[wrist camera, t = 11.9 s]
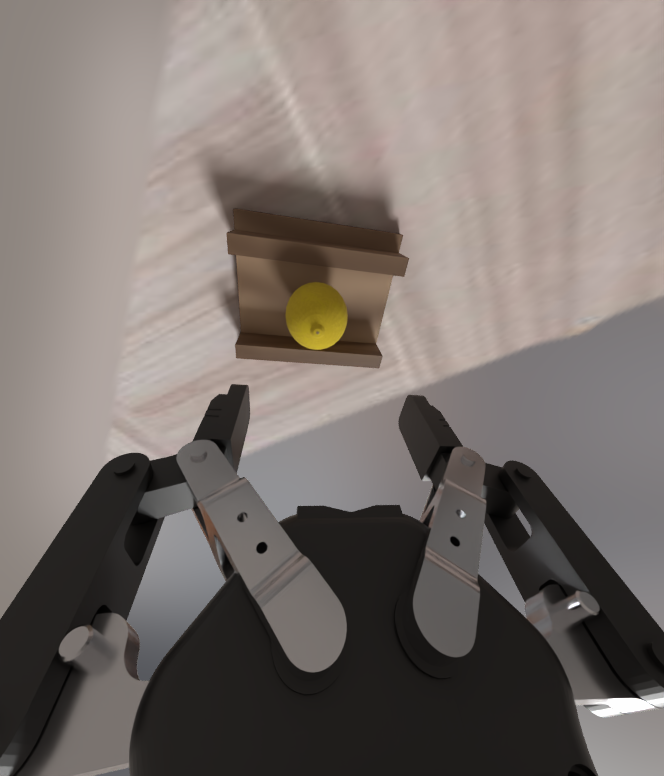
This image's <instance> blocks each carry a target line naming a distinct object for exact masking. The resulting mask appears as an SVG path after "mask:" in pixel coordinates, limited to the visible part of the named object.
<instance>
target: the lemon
mask: <svg viewBox="0 0 664 776" xmlns="http://www.w3.org/2000/svg"><path fill="white" fill-rule="evenodd" d="M285 316H286V323H287V327H288V329H289V331H290V334H291V335H292V336H293V338H294V339H295V340H296V341H297V342H298V343H299V344H301V345H302V346H304V347H306V348H309V349H314V350H321V349H325V348H328V347H330V346H332V345H334V344H335V343H336V342H337V341H338V340H339V339H340V338H341V336H342V335H343V333H344V331H345V328H346V325H347V318H348V314H347V307H346V304H345V302H344V300H343V298H342V296H341V295H340V294H339V292H338V291H337V290H335V289H334V288H333V287H332V286H330V285H327V284H325V283H320V282H312V283H307V284H305V285H302V286H301V287H299V288H298V289H297V290H296V291H295V292H294V293H293V294H292V296H291V297H290V298H289V301H288V304H287V306H286V315H285Z"/></svg>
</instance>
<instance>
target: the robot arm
mask: <svg viewBox="0 0 664 776" xmlns="http://www.w3.org/2000/svg"><path fill="white" fill-rule="evenodd" d="M249 419H250V402H249V387H248V385H236V384H232V385H231V386H230V389H229V392H228V394H227V395H225V394H219V395H218V396H216V397H215V398H214V399H213V400H212V401H211V402H210V404H209V407H208V410H207V411H206V413H205V417H204V418H203V420H202V422H201V424H200V426H199V428H198V431H197V433H196V435H195V437H194V439H193V441H192V442H190V443H188V444H186V445H185V446H183V447H182V448H181V449H180V450H179V452H178V454H176V455H173V456H170V457H166V458H161V459H156V460H152V461H149V458H148V457H147V456H146V455H144V454H141V453H129V454H124V455H121V456H118V457H116V458H114V459H112V460H111V461H109V462H108V463H107V464H106V465H105V466H104V467H103V468H102V469H101V470H100V472H99V473H98V475H97V476H96V478H95V479H94V481H93V482H92V484H91V485H90V487H89V488H88V490H87V491H86V493H85V494H84V496H83V497H82V499H81V500H80V502H79V503H78V505H77V506H76V508H75V509H74V511H73V512H72V514H71V515H70V517H69V518H68V520H67V521H66V523H65V524H64V525H63V527H62V529H61V530H60V531H59V533H58V534H57V536H56V537H55V539H54V540H53V542H52V543H51V545H50V546H49V548H48V549H47V551H46V552H45V554H44V555H43V557H42V558H41V560H40V562H39V563H38V564H37V566H36V567H35V569H34V570H33V572H32V573H31V575H30V576H29V578H28V579H27V581H26V582H25V584H24V585H23V587H22V588H21V590H20V591H19V593H18V594H17V595H16V597H15V599H14V600H13V601H12V603H11V605H10V606H9V607H8V609H7V610H6V612H5V613H4V615H3V616H2V618H1V619H0V776H94V775H99V774H102V773H107V772H111V771H116V770H119V769H124V768H128V767H129V770H130V776H598V774H597V772H596V769H595V767H594V764H593V762H592V759H591V756H590V754H589V751H588V749H587V745H586V742H585V739H584V736H583V733H582V729H581V726H580V722H579V719H578V714H577V709H576V705H583V706H585V707H586V708H587V709H588V710H589V711H591V712H592V713H594V714H596V715H598V716H600V717H613V716H619V715H625V714H631V713H637V712H643V711H649V710H655V709H662V708H664V632H663V630H662V629H661V628H660V627H659V625H658V624H657V623H656V622H655V621H654V619H653V618H652V617H651V616H650V614H649V613H648V612H647V610H646V609H645V608H644V607H643V606H642V604H641V603H640V602H639V600H638V599H637V598H636V597H635V596H634V594H633V593H632V592H631V591H630V589H629V588H628V587H627V585H626V584H625V583H624V582H623V580H622V579H621V578H620V577H619V576H618V574H617V573H616V572H615V571H614V569H613V568H612V567H611V566H610V564H609V563H608V562H607V561H606V559H605V558H604V557H603V556H602V554H601V553H600V552H599V551H598V549H597V548H596V547H595V546H594V544H593V543H592V542H591V541H590V539H589V538H588V537H587V536H586V534H585V533H584V532H583V531H582V529H581V528H580V527H579V526H578V524H577V523H576V522H575V521H574V519H573V518H572V517H571V516H570V514H569V513H568V512H567V511H566V510H565V508H564V507H563V506H562V504H561V503H560V502H559V501H558V500H557V498H556V497H555V496H554V495H553V493H552V492H551V491H550V489H549V488H548V487H547V486H546V485H545V483H544V482H543V481H542V480H541V478H540V477H539V476H538V475H537V473H536V472H535V471H533V470H532V469H531V468H530V467H528V466H527V465H525V464H523V463H520V462H517V461H508V462H506V463H505V464H504V466H503V467H498V466H494V465H491V464H487V463H485V462H484V460H483V458H482V457H481V456H480V455H479V454H478V453H476V452H475V451H473V450H471V449H469V448H466V447H463V445H462V444H461V443H460V441H459V439H458V438H457V436H456V435H455V434H454V432H453V430H452V429H451V427H449V424H448V423H447V421H445V418H444V417H443V415H442V414H441V412H440V411H438V410H437V409H436V408H435V407H433V406H430V404H429V403H428V401H427V400H426V398H425V397H424V396H418V395H408V396H407V398H406V401H405V403H404V406H403V409H402V411H401V414H400V417H399V429H400V431H401V433H402V435H403V438H404V440H405V443H406V445H407V447H408V450H409V452H410V454H411V457H412V459H413V461H414V464H415V466H416V468H417V471H418V473H419V475H420V478H421V480H422V481H432V483H433V486H432V487H431V489H430V492H429V495H428V498H427V501H426V503H425V506H424V509H423V512H422V515H421V517H420V520H419V521H418V520H417V519H415V518H413V517H411V516H408V515H405V514H402V511H401V508H400V505H375V506H372V507H368V508H365V509H361V510H358V511H355V512H347V511H343V510H339V509H335V508H331V507H326V506H298V507H297V514H296V515H293V516H290V517H288V518H285V519H283V520H282V521H280V522H278V521H277V520H276V519H275V517H274V516H273V515H272V513H271V512H270V510H269V509H268V507H267V506H266V505H265V503H264V502H263V500H262V499H261V498H260V496H259V495H258V494H257V492H256V491H255V489H254V488H253V487H252V485H251V484H250V482H249V481H248V480H247V479H246V478H245V477H243V478H239V476H238V475H237V470H238V465H239V461H240V457H241V453H242V449H243V445H244V441H245V437H246V433H247V428H248V424H249ZM188 509H192V511H193V513H194V515H195V517H196V519H197V521H198V523H199V525H200V527H201V529H202V531H203V533H204V535H205V537H206V539H207V541H208V543H209V545H210V548H211V550H212V553H213V555H214V558H215V560H216V562H217V565H218V567H219V569H220V571H221V573H222V575H223V577H224V579H225V581H226V582H225V584H224V585H223V586H222V587H221V589H220V590H219V591H218V592H217V593H216V595H215V596H214V597H213V599H212V600H211V601H210V602H209V603H208V604H207V606H206V607H205V608H204V609H203V610H202V612H201V613H200V614H199V615H198V617H197V618H196V619H195V620H194V621H193V623H192V624H191V625H190V626H189V627H188V629H187V630H186V631H185V632H184V633H183V635H182V636H181V637H180V638H179V640H178V641H177V642H176V643H175V644H174V646H173V647H172V648H171V649H170V650H169V652H168V653H167V654H166V656H165V657H164V658H163V660H162V661H161V662H160V664H159V665H158V667H157V669H156V670H155V672H154V673H153V675H152V677H151V679H150V681H140V679H139V677H138V674H137V660H138V655H139V650H140V640H139V636H138V634H137V632H136V631H135V630H134V629H133V628H132V627H131V626H130V624H129V623H128V622H127V621H126V620H127V617H128V615H129V612H130V610H131V607H132V604H133V601H134V599H135V596H136V593H137V591H138V588H139V585H140V583H141V580H142V577H143V574H144V572H145V569H146V566H147V563H148V561H149V558H150V555H151V553H152V550H153V547H154V545H155V542H156V539H157V537H158V534H159V531H160V529H161V526H162V523H163V520H164V517H165V516H168V515H171V514H174V513H178V512H181V511H185V510H188ZM519 509H520V510H521V512H522V513H523V515H524V516H525V518H526V519H527V521H528V522H529V524H530V526H531V530H532V535H531V537H530V536H529V534H528V533H527V531H526V529H525V528H524V526H523V525H522V523H521V522H520V520H519V518H518V517H517V515H516V514H515V513H516V512H517V511H518V510H519ZM484 523H485V525H486V527H487V529H488V531H489V533H490V535H491V537H492V538H493V541H494V543H495V544H496V547H497V549H498V551H499V552H500V555H501V556H502V558H503V560H504V562H505V564H506V566H507V568H508V570H509V572H510V574H511V576H512V578H513V580H514V582H515V584H516V586H517V588H518V590H519V592H520V593H521V595H522V597H523V599H524V601H525V613H526V617H527V619H526V618H525V617H524V616H523V615H522V614H521V613H520V612H519V611H518V610H517V609H516V608H515V607H513V606H512V605H511V604H510V603H509V602H508V601H507V600H506V599H505V598H504V597H503V596H502V595H501V594H499V593H498V592H497V591H496V590H495V589H494V588H493V587H492V586H491V585H490V584H489V583H488V582H486V581H485V580H484V579H483V578H482V577H481V576H480V575H479V574H478V569H479V561H480V553H481V545H482V536H483V528H484Z"/></svg>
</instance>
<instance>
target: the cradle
mask: <svg viewBox="0 0 664 776" xmlns="http://www.w3.org/2000/svg"><path fill="white" fill-rule="evenodd" d="M233 213H234V229H235V230H232V231H230V232H227V245H228V254H231V255H236V261H237V277H238V293H239V309H240V325H241V333H240V335H239V338H238V340H237V342H236V344H235V348H236V358H241V359H255V360H269V361H284V362H298V363H312V364H326V365H340V366H354V367H368V368H379V367H380V363H381V360H382V354H381V352H380V350H379V349H378V347H377V345H376V342H377V338H378V334H379V330H380V326H381V322H382V318H383V314H384V310H385V306H386V302H387V298H388V294H389V290H390V285H391V281H392V277H393V275H395V276H402V277H404V275H405V272H406V268H407V264H408V260H409V258H407V257H405V256H403V255H402V254H400V253H399V249H400V245H401V241H402V237H403V235H401V234H396V233H390V232H384V231H377V230H371V229H364V228H358V227H351V226H345V225H338V224H332V223H325V222H319V221H312V220H306V219H300V218H293V217H287V216H280V215H274V214H267V213H261V212H254V211H248V210H241V209H233ZM312 282H320V283H325V284H327V285H330V286H332V287H333V288H334V289H335V290H337V291H338V292H339V294H340V295H341V296H342V298H343V300H344V302H345V304H346V307H347V314H348V318H347V325H346V328H345V331H344V333H343V335H342V336H341V338H340V339H339V340H338V341H337V342H336V343H335V344H334V345H332V346H330V347H328V348H325V349H321V350H314V349H309V348H306V347H304V346H302V345H301V344H299V343H298V342H297V341H296V340H295V339H294V338H293V336H292V335H291V334H290V331H289V329H288V327H287V323H286V316H285V315H286V306H287V304H288V301H289V298H290V297H291V296H292V294H293V293H294V292H295V291H296V290H297V289H298V288H299V287H301V286H302V285H305V284H307V283H312Z"/></svg>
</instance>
